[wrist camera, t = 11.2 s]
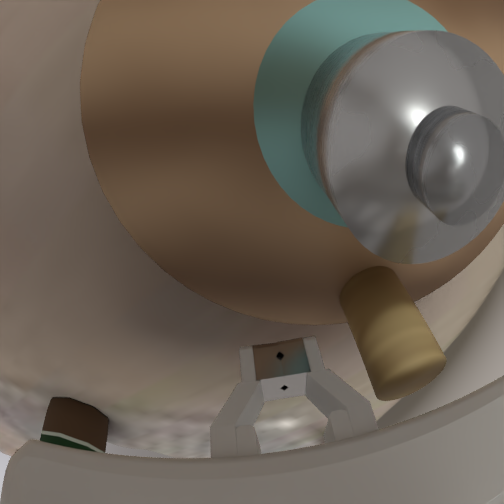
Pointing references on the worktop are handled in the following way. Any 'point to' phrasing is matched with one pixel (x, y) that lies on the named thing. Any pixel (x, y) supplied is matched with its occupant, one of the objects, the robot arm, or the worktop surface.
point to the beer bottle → (75, 425)
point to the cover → (408, 141)
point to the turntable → (259, 162)
